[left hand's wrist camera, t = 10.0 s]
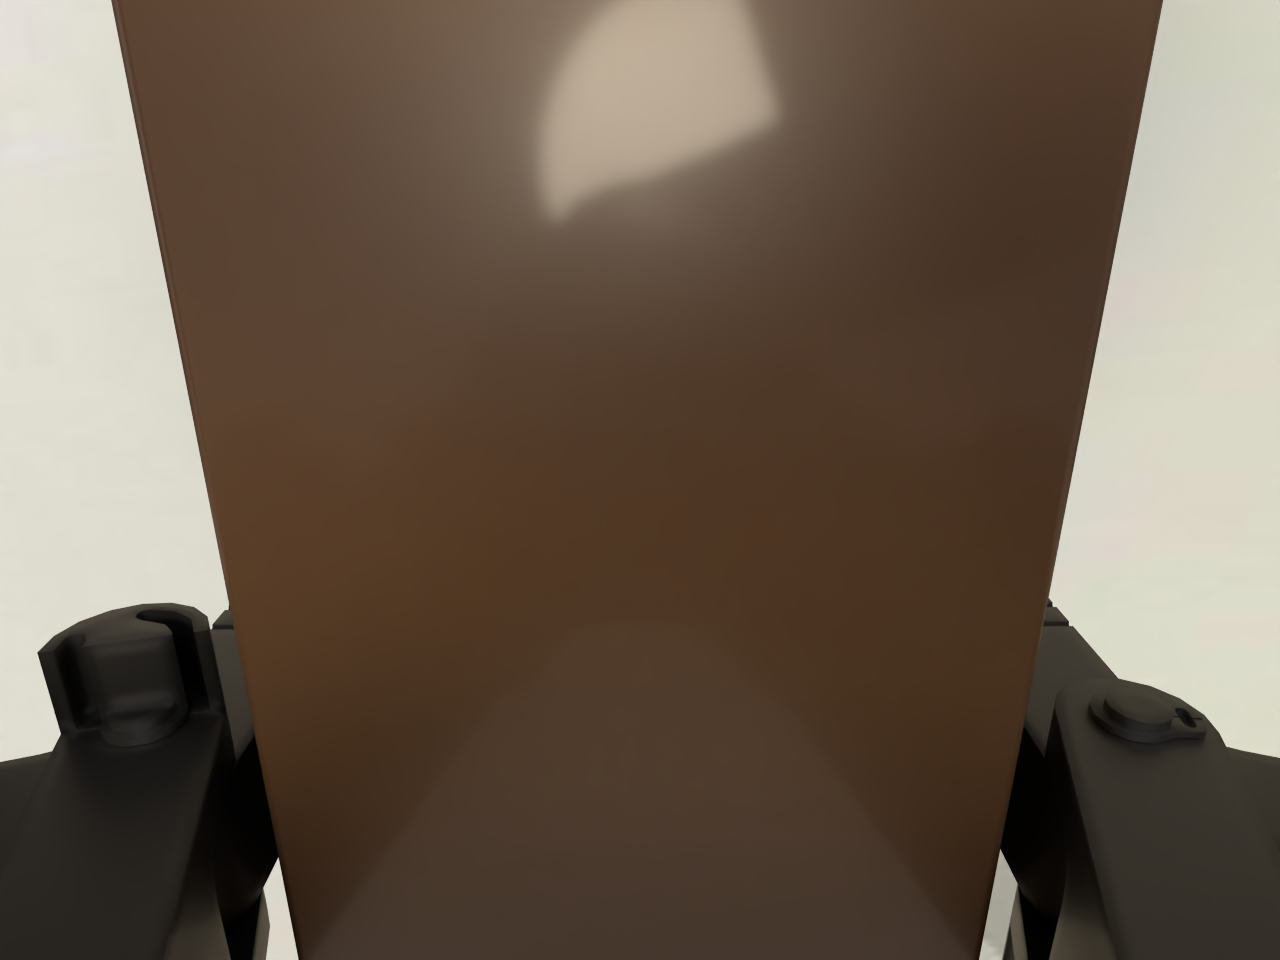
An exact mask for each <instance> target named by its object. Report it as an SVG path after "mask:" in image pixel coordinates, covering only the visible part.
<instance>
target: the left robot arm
mask: <svg viewBox="0 0 1280 960" xmlns="http://www.w3.org/2000/svg"><path fill="white" fill-rule="evenodd" d="M38 656H39V660H40V663H41V667H42V670H43V674H44V677H45V680H46V684H47V687H48V691H49V694H50V698H51V701H52V704H53V708H54V711H55V715H56V718H57V722H58V725H59V728H60V732H61V735H60V737H59V739H58V741H57V743H56V745H55V747H54V749H53V751H52V752H48V753H44V754H40V755H35V756H30V757H25V758H19V759H14V760H9V761H4V762H0V960H266V953H267V945H268V937H269V929H270V923H269V916H268V910H267V904H266V899H265V894H264V890H263V887H264V885H265V883H266V881H267V879H268V877H269V875H270V873H271V871H272V869H273V867H274V865H275V863H276V861H277V859H278V857H279V856H278V851H277V846H276V841H275V835H274V830H273V825H272V820H271V815H270V810H269V805H268V800H267V794H266V789H265V784H264V779H263V774H262V769H261V764H260V759H259V753H258V748H257V743H256V738H255V733H254V728H253V723H252V718H251V713H250V707H249V702H248V697H247V692H246V687H245V682H244V677H243V672H242V666H241V661H240V656H239V651H238V646H237V641H236V636H235V631H234V626H233V620H232V615H231V610H230V605H229V610H225V611H224V612H223V613H222V614H221V615H220V617H219V618H218V619H217V620H216V621H215V622H214V624H213V628H212V629H210V627H209V622H208V617H207V616H206V615H205V614H203V613H202V612H200V611H199V610H197V609H196V608H195V607H191V606H185V605H180V604H175V603H156V604H140V605H135V606H130V607H125V608H120V609H115V610H111V611H108V612H105V613H102V614H99V615H97V616H94V617H91V618H88V619H85V620H83V621H80V622H78V623H76V624H75V625H73V626H71V627H69V628H67V629H66V630H64V631H62V632H60V633H59V634H57V635H55V636H54V637H53V638H52V639H51V640H50V641H49V642H48V643H47V644H46V645H45V646H44V647H43V648H42V649H41V650H40V651H39V652H38ZM1000 849H1001V851H1002V853H1003V855H1004V857H1005V859H1006V861H1007V863H1008V865H1009V867H1010V869H1011V871H1012V873H1013V875H1014V877H1015V879H1016V881H1017V883H1018V885H1017V890H1016V894H1015V899H1014V904H1013V909H1012V914H1011V919H1010V924H1009V928H1008V933H1007V938H1006V943H1005V948H1004V953H1003V958H1002V960H1280V758H1277V757H1272V756H1266V755H1261V754H1256V753H1251V752H1246V751H1241V750H1237V749H1233V748H1229V747H1226V745H1225V744H1224V742H1223V740H1222V738H1221V736H1220V734H1219V732H1218V731H1217V730H1216V729H1215V727H1214V726H1213V725H1212V724H1211V723H1210V721H1209V720H1208V719H1207V718H1206V717H1205V715H1204V714H1202V713H1201V712H1199V711H1198V710H1196V709H1195V708H1193V707H1192V706H1190V705H1189V704H1187V703H1186V702H1184V701H1183V700H1181V699H1180V698H1177V697H1175V696H1173V695H1170V694H1168V693H1165V692H1163V691H1161V690H1158V689H1156V688H1154V687H1151V686H1148V685H1143V684H1139V683H1135V682H1131V681H1126V680H1122V679H1118V678H1117V677H1116V675H1115V674H1114V673H1113V672H1112V671H1111V670H1110V668H1109V667H1108V666H1107V665H1106V664H1105V663H1104V662H1103V660H1102V659H1101V658H1100V657H1099V656H1098V655H1097V653H1096V652H1095V651H1094V650H1093V649H1092V648H1091V647H1090V645H1089V644H1088V643H1087V642H1086V641H1085V640H1084V638H1083V637H1082V636H1081V635H1080V634H1079V633H1078V632H1077V630H1076V629H1075V628H1074V627H1073V626H1069V621H1068V620H1067V619H1066V618H1065V617H1064V615H1063V614H1062V613H1061V612H1060V611H1059V610H1058V608H1057V607H1053V606H1052V602H1051V600H1050V599H1049V598H1048V602H1047V607H1046V613H1045V618H1044V623H1043V628H1042V633H1041V639H1040V644H1039V649H1038V654H1037V660H1036V665H1035V670H1034V675H1033V680H1032V686H1031V691H1030V696H1029V701H1028V706H1027V712H1026V717H1025V722H1024V727H1023V732H1022V738H1021V743H1020V748H1019V753H1018V758H1017V764H1016V769H1015V774H1014V779H1013V785H1012V790H1011V795H1010V800H1009V805H1008V811H1007V816H1006V821H1005V826H1004V831H1003V837H1002V842H1001V847H1000Z"/></svg>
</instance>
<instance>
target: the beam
mask: <svg viewBox="0 0 1280 960" xmlns="http://www.w3.org/2000/svg"><path fill="white" fill-rule="evenodd" d="M111 1H112V6H113V11H114V16H115V21H116V27H117V32H118V37H119V42H120V47H121V52H122V57H123V62H124V67H125V73H126V78H127V83H128V88H129V93H130V98H131V103H132V108H133V114H134V119H135V124H136V129H137V134H138V139H139V144H140V149H141V155H142V160H143V165H144V170H145V175H146V180H147V185H148V190H149V195H150V201H151V206H152V211H153V216H154V221H155V226H156V231H157V236H158V242H159V247H160V252H161V257H162V262H163V267H164V272H165V277H166V282H167V288H168V293H169V298H170V303H171V308H172V313H173V318H174V323H175V329H176V334H177V339H178V344H179V349H180V354H181V359H182V364H183V370H184V375H185V380H186V385H187V390H188V395H189V400H190V405H191V410H192V416H193V421H194V426H195V431H196V436H197V441H198V446H199V451H200V457H201V462H202V467H203V472H204V477H205V482H206V487H207V492H208V498H209V503H210V508H211V513H212V518H213V523H214V528H215V533H216V538H217V544H218V549H219V554H220V559H221V564H222V569H223V574H224V579H225V585H226V590H227V595H228V600H229V605H230V610H231V615H232V620H233V626H234V631H235V636H236V641H237V646H238V651H239V656H240V661H241V666H242V672H243V677H244V682H245V687H246V692H247V697H248V702H249V707H250V713H251V718H252V723H253V728H254V733H255V738H256V743H257V748H258V753H259V759H260V764H261V769H262V774H263V779H264V784H265V789H266V794H267V800H268V805H269V810H270V815H271V820H272V825H273V830H274V835H275V841H276V846H277V851H278V856H279V861H280V866H281V871H282V876H283V881H284V887H285V892H286V897H287V902H288V907H289V912H290V917H291V922H292V928H293V933H294V938H295V943H296V948H297V953H298V958H299V960H979V956H980V951H981V946H982V941H983V936H984V930H985V925H986V920H987V915H988V910H989V904H990V899H991V894H992V889H993V883H994V878H995V873H996V868H997V863H998V857H999V852H1000V847H1001V842H1002V837H1003V831H1004V826H1005V821H1006V816H1007V811H1008V805H1009V800H1010V795H1011V790H1012V785H1013V779H1014V774H1015V769H1016V764H1017V758H1018V753H1019V748H1020V743H1021V738H1022V732H1023V727H1024V722H1025V717H1026V712H1027V706H1028V701H1029V696H1030V691H1031V686H1032V680H1033V675H1034V670H1035V665H1036V660H1037V654H1038V649H1039V644H1040V639H1041V633H1042V628H1043V623H1044V618H1045V613H1046V607H1047V602H1048V597H1049V592H1050V587H1051V581H1052V576H1053V571H1054V566H1055V561H1056V555H1057V550H1058V545H1059V540H1060V534H1061V529H1062V524H1063V519H1064V514H1065V508H1066V503H1067V498H1068V493H1069V488H1070V482H1071V477H1072V472H1073V467H1074V462H1075V456H1076V451H1077V446H1078V441H1079V436H1080V430H1081V425H1082V420H1083V415H1084V409H1085V404H1086V399H1087V394H1088V389H1089V383H1090V378H1091V373H1092V368H1093V363H1094V357H1095V352H1096V347H1097V342H1098V337H1099V331H1100V326H1101V321H1102V316H1103V310H1104V305H1105V300H1106V295H1107V290H1108V284H1109V279H1110V274H1111V269H1112V264H1113V258H1114V253H1115V248H1116V243H1117V238H1118V232H1119V227H1120V222H1121V217H1122V212H1123V206H1124V201H1125V196H1126V191H1127V185H1128V180H1129V175H1130V170H1131V165H1132V159H1133V154H1134V149H1135V144H1136V139H1137V133H1138V128H1139V123H1140V118H1141V113H1142V107H1143V102H1144V97H1145V92H1146V87H1147V81H1148V76H1149V71H1150V66H1151V60H1152V55H1153V50H1154V45H1155V40H1156V34H1157V29H1158V24H1159V19H1160V14H1161V8H1162V3H1163V0H111Z"/></svg>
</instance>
